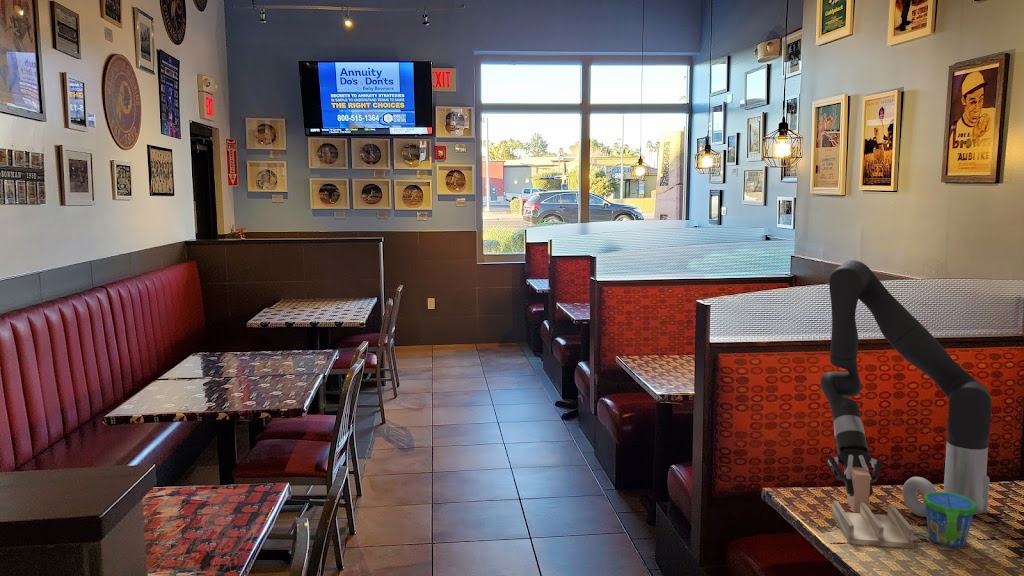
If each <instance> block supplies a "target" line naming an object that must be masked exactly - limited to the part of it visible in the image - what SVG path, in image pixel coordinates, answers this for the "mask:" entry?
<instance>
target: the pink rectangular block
mask: <svg viewBox="0 0 1024 576" xmlns="http://www.w3.org/2000/svg"><path fill="white" fill-rule="evenodd" d="M870 476H871V474H870V472H869V473H868V472H867V471H866V470H865V469H863V468H862V467H852V468H851V480H852V483H853V489H854V495H853V496H850V495H849V494H847V493H846V503H847V504H848V506H849V507H850V508H851V511H853V513H860V503H865V504H866V505H867V506H868V508H869V509H870V497H869V494H870Z"/></svg>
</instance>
